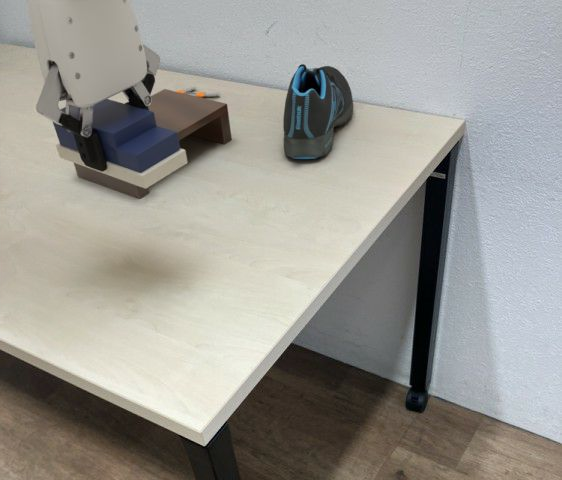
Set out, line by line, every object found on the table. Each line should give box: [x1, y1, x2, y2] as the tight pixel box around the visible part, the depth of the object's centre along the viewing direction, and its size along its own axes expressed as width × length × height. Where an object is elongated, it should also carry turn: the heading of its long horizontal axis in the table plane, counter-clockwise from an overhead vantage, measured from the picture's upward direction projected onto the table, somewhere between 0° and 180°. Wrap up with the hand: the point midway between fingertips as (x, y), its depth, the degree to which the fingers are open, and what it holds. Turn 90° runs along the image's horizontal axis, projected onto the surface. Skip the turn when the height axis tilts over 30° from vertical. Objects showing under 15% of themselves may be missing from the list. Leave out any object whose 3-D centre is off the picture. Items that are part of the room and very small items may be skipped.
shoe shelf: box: [72, 88, 232, 200], centre depth 98 cm, size 22×14×6 cm, turn 144°
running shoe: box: [282, 63, 354, 160], centre depth 100 cm, size 10×26×11 cm, turn 170°
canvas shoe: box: [52, 98, 188, 189], centre depth 66 cm, size 14×6×5 cm, turn 54°
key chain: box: [175, 86, 221, 98], centre depth 116 cm, size 13×7×1 cm, turn 118°
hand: (120, 152), depth 68 cm, fingers closed on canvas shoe, 6 cm apart
